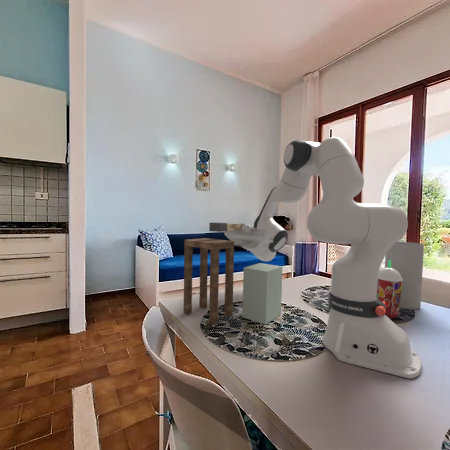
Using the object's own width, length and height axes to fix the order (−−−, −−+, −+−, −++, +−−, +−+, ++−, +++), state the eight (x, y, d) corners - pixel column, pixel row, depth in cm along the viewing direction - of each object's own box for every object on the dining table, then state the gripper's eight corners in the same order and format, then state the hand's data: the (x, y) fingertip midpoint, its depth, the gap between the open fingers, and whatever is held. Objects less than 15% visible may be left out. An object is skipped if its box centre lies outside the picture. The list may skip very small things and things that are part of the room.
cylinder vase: (376, 301, 108) (379, 241, 107) (395, 297, 113) (398, 241, 112) (408, 312, 96) (411, 245, 95) (427, 307, 102) (431, 244, 100)
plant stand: (232, 315, 90) (234, 241, 89) (213, 324, 82) (215, 243, 81) (203, 305, 99) (204, 237, 97) (183, 313, 91) (184, 239, 90)
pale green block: (280, 314, 92) (282, 266, 91) (265, 324, 83) (267, 271, 82) (258, 308, 97) (260, 263, 96) (242, 317, 89) (243, 267, 88)
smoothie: (406, 320, 89) (409, 262, 88) (382, 319, 89) (385, 262, 88) (391, 311, 97) (394, 258, 96) (369, 310, 97) (371, 257, 96)
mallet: (236, 229, 107) (236, 222, 106) (246, 230, 104) (247, 222, 103) (209, 230, 93) (209, 222, 93) (220, 231, 90) (220, 223, 90)
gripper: (272, 250, 105) (258, 234, 95) (232, 245, 118) (215, 231, 108) (276, 236, 107) (263, 219, 98) (236, 232, 120) (220, 218, 110)
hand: (237, 225), depth 103 cm, fingers closed on mallet, 2 cm apart
